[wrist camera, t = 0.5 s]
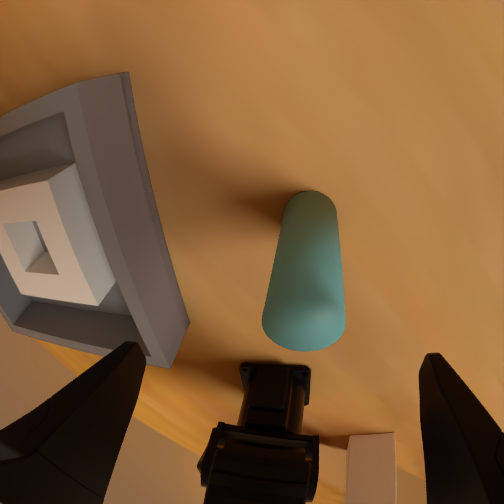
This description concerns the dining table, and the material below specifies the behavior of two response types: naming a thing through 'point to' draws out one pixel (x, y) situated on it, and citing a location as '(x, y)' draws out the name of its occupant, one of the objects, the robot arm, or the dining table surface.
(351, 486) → the milk
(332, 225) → the peg
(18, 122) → the box
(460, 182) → the dining table surface
